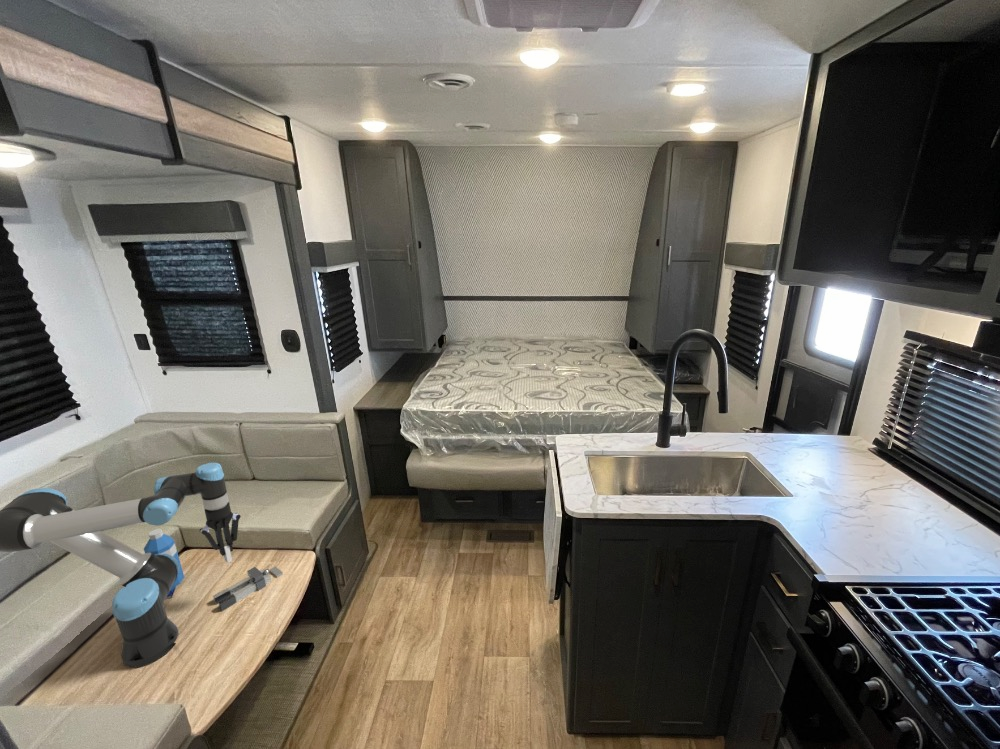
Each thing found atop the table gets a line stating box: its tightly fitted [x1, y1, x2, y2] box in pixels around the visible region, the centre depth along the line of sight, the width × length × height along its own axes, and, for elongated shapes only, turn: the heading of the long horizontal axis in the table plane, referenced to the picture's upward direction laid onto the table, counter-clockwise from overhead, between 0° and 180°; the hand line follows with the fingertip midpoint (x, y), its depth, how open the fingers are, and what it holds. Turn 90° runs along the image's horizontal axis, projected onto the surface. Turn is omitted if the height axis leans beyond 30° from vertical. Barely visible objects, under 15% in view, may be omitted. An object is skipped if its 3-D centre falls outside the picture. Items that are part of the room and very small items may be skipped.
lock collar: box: [246, 566, 267, 592], centre depth 168 cm, size 3×7×6 cm, turn 54°
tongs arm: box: [212, 568, 271, 605], centre depth 166 cm, size 19×4×4 cm, turn 140°
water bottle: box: [143, 528, 185, 591], centre depth 167 cm, size 9×9×25 cm
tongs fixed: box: [217, 566, 284, 612], centre depth 166 cm, size 23×6×3 cm, turn 144°
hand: (228, 560), depth 158 cm, fingers closed
